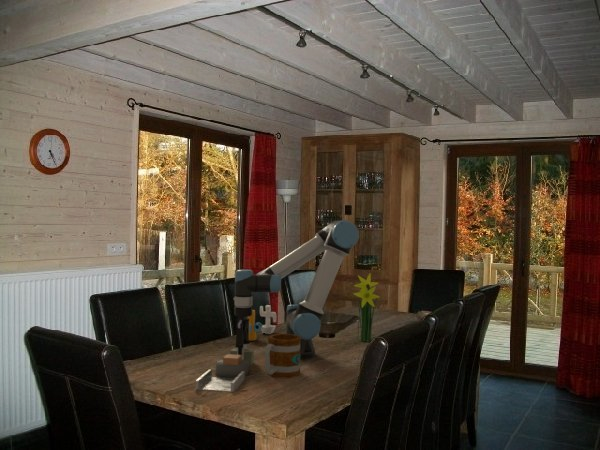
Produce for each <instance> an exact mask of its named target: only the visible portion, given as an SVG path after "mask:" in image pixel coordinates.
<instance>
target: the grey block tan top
mask: <svg viewBox="0 0 600 450" xmlns="http://www.w3.org/2000/svg"><path fill="white" fill-rule="evenodd" d="M242 371H245V377H247V376H248V375H249V371H250V366H249V362H248V361H246V360H243V359H242V355H233V354H225V355H224V356H223V358H222V359H219V360H217V361H216V362H215V376H216V377H221V378H236V377H237V376H238V375H239V374H240V373H241V372H242Z"/></svg>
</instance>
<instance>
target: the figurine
mask: <svg viewBox="0 0 600 450" xmlns="http://www.w3.org/2000/svg"><path fill="white" fill-rule="evenodd" d="M271 308H272V307H271V305H269V304H266V305H265V311H264V306H263V305H260V306H259V315H260V317H264V318H265V324H262V328H261V330H260V331H261V334H263V333H265V334H266V335H272V334H273V333H274V332H275V329H276V328H277V325H274V324H273V325H272V324H271V318H272V322H273V323H276V322H277V313H276V312H275V311H272V309H271ZM260 327H261V326H260Z"/></svg>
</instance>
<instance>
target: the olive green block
mask: <svg viewBox="0 0 600 450" xmlns="http://www.w3.org/2000/svg"><path fill="white" fill-rule="evenodd" d="M254 353H255V349H254V348H253V349H252V348H247V349H244V360H246V361H248V362H249V367H251V366H252V365H253V364H254V363H255V362H254V361H255V360H254V359H255V357H254V356H255V354H254ZM230 354H233V355H237V347H235V348H232V349H230Z"/></svg>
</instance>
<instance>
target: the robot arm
mask: <svg viewBox="0 0 600 450" xmlns="http://www.w3.org/2000/svg"><path fill="white" fill-rule="evenodd" d="M314 235H315V236H314V237H313V238H312V239H310V240H308V241H306V242H305V243H303V244H302V245H300V246H299V247H298V248H296V249H294V250H293V251H292V252H290V253H288V254H287V255H285V256H284V257H282V258H281V259H280V260H278V261H276V262H275V263H273V264H272V265H270V266H269V267H267V268H266V269H263V270H261V271H259V272H258V273H256V274H254V271H253V270H252V269H237V270H236V271H235V274H234V275H235V276H234V297H233V301H234V308H233V309H234V312H233V313H234V314H233V315H234V316H235V317H238V320H236V321H237V323H236V324H235V326H236V330H235V332H236V334H235V336H236V337H235V346H234V347H235V348H237V355H242V359H243V360H244V349H248V345H249V344H250V341H249V319H248V316H251V315H252V310H253V307H252V306H253V293H272V294H273V293H280V292H281V290H282V280H283V278H285V277H286V276H288V275H289V274H291V273H292V272H295V270H297V269H299V268H300V267H302V266H303V265H305V264H306V263H308V262H309V261H311V260H312V259H314V258H315V257H317V256H318V255H320V254H321V253H323V254H322V257H321V260H320V262H319V264H318V267H317V268H316V271H315V273H314V277H313V278H312V281H311V283H310V286H309V288H308V291H307V293H306V295H305V297H304V300H303V301H301V302H299V303H298V304H288V305H287V306H286V310H285V313H286V326H285V327H286V328H285V329H286V330H285V331H286V332H285V334H294V335H297V336H301V342H300V352H301V357H300V360H301V359H303V360H304V359H311V358H314V357H315V356H316V348H315V346H314V341H313V339H314V338H315V337H317V335H319V333H320V331H321V327H322V325H321V322H322V319H323V317H324V314H325V312H324V310H323V308H324V305H325V303H326V301H327V299H328V295H329V293H330V292H331V289H332V286H333V284H334V281H335V279H336V276H337V274H338V272H339V269H340V267H341V265H342V263H343V260H344V258H346V257H348V256H349V254H350V253H351V250H352V248H353V247H354V246H355V245H356V244H357V242H358V241H359V237H360V235H359V229H358V227H357V226H356V225H355V223H353V222H351V221H349V220H346V219H343V220H342V219H341V220H339V219H338V220H333V221H332V222H330V223H328V224H327V225H326V226H324V227H323V228H322V229H320V230H319V231H318V232H316V233H315V234H314Z"/></svg>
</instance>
